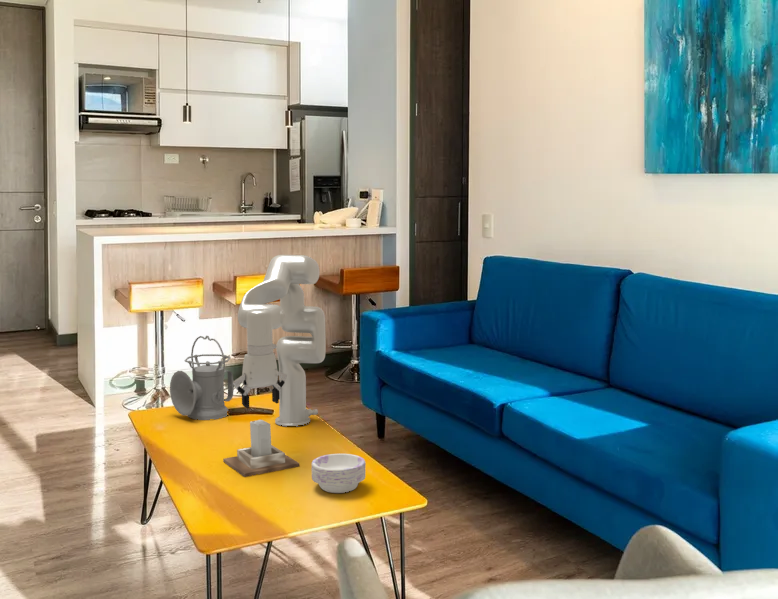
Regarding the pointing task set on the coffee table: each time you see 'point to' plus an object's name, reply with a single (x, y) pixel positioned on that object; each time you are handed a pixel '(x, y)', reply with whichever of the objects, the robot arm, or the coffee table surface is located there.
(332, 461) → the paper bowls
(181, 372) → the lantern
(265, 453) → the skincare box
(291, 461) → the socket board
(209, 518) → the coffee table surface
